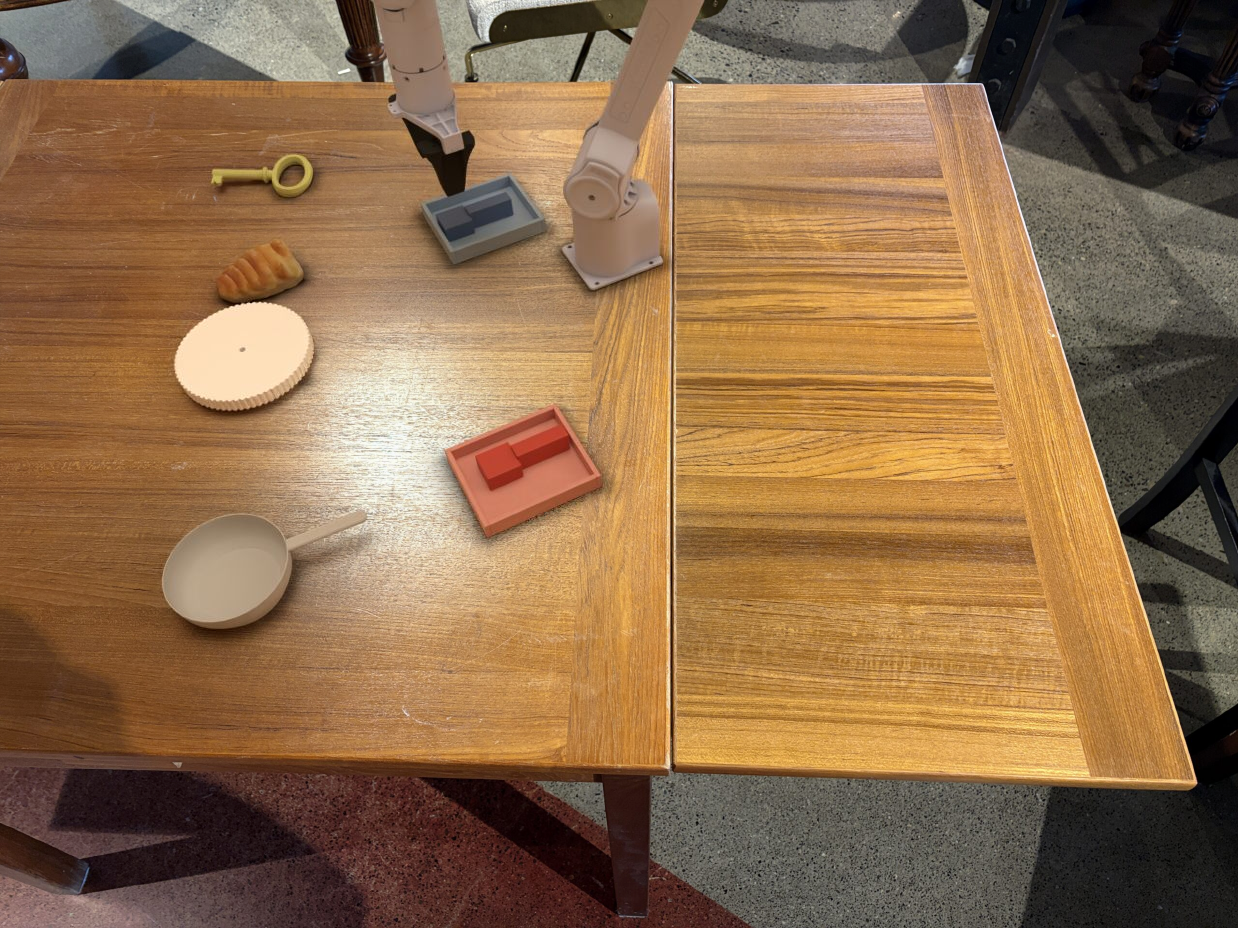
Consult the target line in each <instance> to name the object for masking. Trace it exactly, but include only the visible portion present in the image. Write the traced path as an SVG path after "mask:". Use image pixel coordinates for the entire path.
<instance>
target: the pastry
mask: <svg viewBox="0 0 1238 928" xmlns="http://www.w3.org/2000/svg"><path fill="white" fill-rule="evenodd" d="M304 275H305V272H304V270H303V268H302V266H301V265H300V263H299V262H298V261H297V260H296V258H295V257H294V255H293V253H292V252H291V250H290V249H289V247H288V246H287V244H286V243H285V242H284V241H283V240H282V239H279V238H273V239H272V240H271V241H270V242H267V243H265V244H262V245H258V246H255V247H254V248H251V249H248V250H245V252H244V253H243V254H242V255H241V256H240V257H239V258H238V259H237V260H236V261H235V262H234V263H233V264H230V265H229V266H228V267H227V268H226V269H225V270H224V271H222V273H221V275H220V276H218V278H217V282H216V290H217V293H218V295H219V296H220V298H222V299H223V300H225V301H228V302H231V303H234V304H235V303H237V304H238V303H241V304H243V303H245V302H247V303H250V302H251V301H254V300H263V299H266V298H269V297H272V296H275V295H277V294H280V293H282V292H284V291H285V290H287V289H291V288H294V287H295V286H297V285H298V284H299V283H301V281H303V279H304Z"/></svg>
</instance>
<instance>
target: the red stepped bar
mask: <svg viewBox="0 0 1238 928" xmlns="http://www.w3.org/2000/svg"><path fill="white" fill-rule="evenodd" d="M569 449H570V445H569V436H568V433H567V432H566V430H565V429H564V427H563V425H562V424H560V425H557V426H555V427H553V428H550V429H548V430H546V431H543V432H541V433H539V434H536V435H534V436H531V437H529V438H527V439H524V440H522V441H520V442H517V443H515V444H513V445H511V446H510V444H509V442H506V443H504V444H502V445H499V446H497V447H495V448H492V449H490V450H487V451H485V452H483V453H480V454H478V455H476V456H475V458H476V462H477V466H478V469H479V470H480V472H481V474H482V476H483V478H484V480H485V482H486V483H487V485H488V487H489V489H490V491H492V490H494V489H497V488H499V487H501V486H504V485H506V484H508V483H511V482H513V481H515V480H517V479H520V478H522V477H524V476H523V471H522V470H523V469H525V468H528V467H530V466H532V465H535V464H537V463H539V462H541V461H544V460H546V459H548V458H551V457H553V456H555V455H558V454H560V453H562V452H564V451H567V450H569Z"/></svg>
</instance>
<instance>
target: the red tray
mask: <svg viewBox="0 0 1238 928" xmlns="http://www.w3.org/2000/svg"><path fill="white" fill-rule="evenodd" d="M560 424H562V425H563V427H564V429H565V430H566V432H567V433H568V436H569V445H570V449H569V450H567V451H564V452H562V453H560V454H558V455H555V456H553V457H551V458H548V459H546V460H544V461H541V462H539V463H537V464H535V465H532V466H530V467H528V468H525V469H523V470H522V471H523V476H524V477H522V478H520V479H517V480H515V481H513V482H511V483H508V484H506V485H504V486H501V487H499V488H497V489H494V490H492V491H490V489H489V487H488V485H487V483H486V482H485V480H484V478H483V476H482V474H481V472H480V470H479V469H478V466H477V462H476V458H475V456H476V455H478V454H480V453H483V452H485V451H487V450H490V449H492V448H495V447H497V446H499V445H502V444H504V443H506V442H509V444H510V446H511V445H513V444H515V443H517V442H520V441H522V440H524V439H527V438H529V437H531V436H534V435H536V434H539V433H541V432H543V431H546V430H548V429H550V428H553V427H555V426H557V425H560ZM444 453H445V456H446V460H447V462H448V464H449V466H450V469H451V470H452V473H453V474H454V476H455V478H456V480H457V482H458V484H459V486H460V488H461V490H462V491H463V494H464V496H465V498H466V500H467V501H468V503H469V505H470V507H471V509H472V511H473V513H474V516H475V517H476V519H477V522H478V523H479V525H480V527H481V529H482V530H483V532H484V534H485V537H486V538H487V539H488V538H491V537H492V536H494V535H497V534H499V533H502V532H503V531H506V530H508V529H511V528H512V527H514V526H517V525H519V524H522V523H523V522H525V521H528V520H530V519H532V518H534V517H536V516H539V515H542V514H543V513H546V512H548V511H550V510H553V509H555V508H557V507H559V506H561V505H564V504H566V503H568V502H570V501H573V500H575V499H578V498H579V497H581V496H584V495H585V494H588V493H590V492H592V491H595V490H597V489H599V488H601V487H603V486H602V475H601V473H600V471H599V470H598V468H597V467H596V465H595V464H594V461H593V460H592V459H591V457H590V456H589V454H588V452H587V451H586V449H585V448H584V446H583V444H582V443H581V441H580V439H579V438H578V437H577V435H576V433H575V432H574V430H573V428H572V427H571V425H570V424H569V422H568V421H567V419H566V418H565V416H564V415H563V413H562V411H561V410H560V408H559V406H558V404H557V403H553V404H551V405H549V406H546V407H544V408H542V409H539V410H537V411H534V412H532V413H530V414H527V415H525V416H523V417H520V418H517V419H514V420H513V421H510V422H508V423H506V424H503V425H501V426H499V427H496V428H493V429H492V430H489V431H487V432H484V433H481V434H480V435H476V436H474V437H471V438H470V439H467V440H464V441H462V442H459V443H458V444H455V445H453V446H451V447H447V448H445V449H444Z"/></svg>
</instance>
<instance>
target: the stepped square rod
mask: <svg viewBox="0 0 1238 928" xmlns="http://www.w3.org/2000/svg"><path fill="white" fill-rule="evenodd" d="M512 215H514V213H513V207H512V200H511V198H510V196H509V195H508V194H507V192H504V193H501V194H498V195H495V196H492V197H489V198H486V199H483V200H481V201H478V202H475V203H472V204H469V205H466V206H463V205H461V206H458V207H455V208H452V209H449V210H446V211H443V212H440V213H438V214H436V218H437V223H438V225H439V227H440V228H441V230H442V232H443V233H444V235H445V236H446V238H447V240H448V241H449V242H452V241H454V240H457V239H460V238H463V237H466V236H468V235H471V234H474V233H475V228H477V227H480V226H483V225H486V224H489V223H492V222H495V221H497V220H500V219H503V218H506V217H509V216H512Z"/></svg>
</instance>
